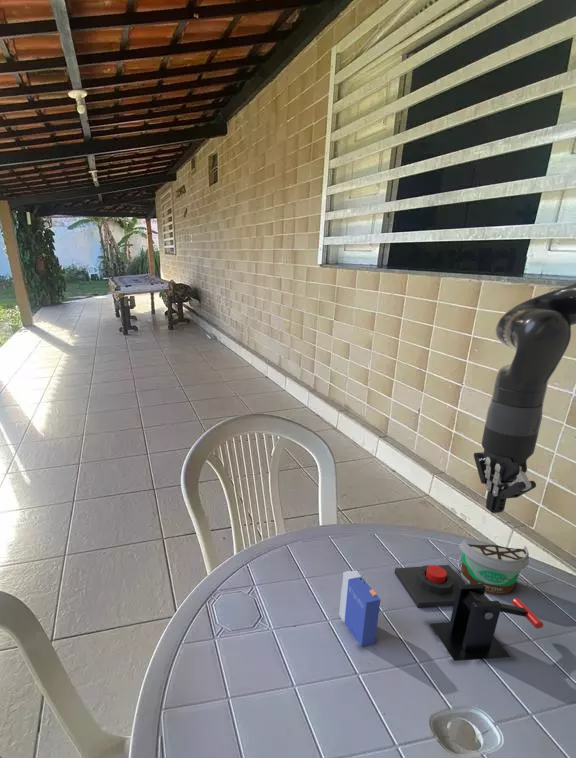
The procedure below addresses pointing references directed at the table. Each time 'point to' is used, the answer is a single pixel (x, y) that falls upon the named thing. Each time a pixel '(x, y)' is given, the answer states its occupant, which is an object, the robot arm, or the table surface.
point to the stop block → (429, 586)
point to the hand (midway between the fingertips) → (493, 510)
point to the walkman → (359, 608)
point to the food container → (492, 566)
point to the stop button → (436, 574)
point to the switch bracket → (471, 628)
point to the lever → (506, 607)
